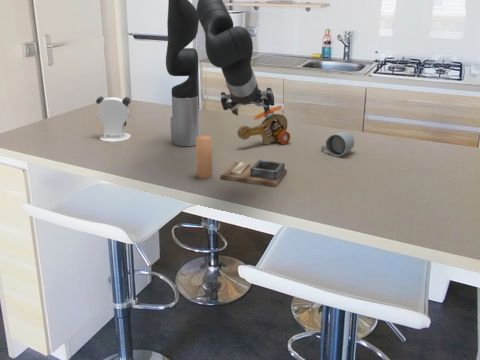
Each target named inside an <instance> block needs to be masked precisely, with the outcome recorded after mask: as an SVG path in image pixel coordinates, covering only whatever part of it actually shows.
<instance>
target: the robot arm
mask: <svg viewBox="0 0 480 360" xmlns="http://www.w3.org/2000/svg"><path fill="white" fill-rule="evenodd" d="M167 5H168V7H167V8H168V9H167V22H166V23H167V46H166V47H167V48H166V54H165V67H166V71H167V73H168V74H169V76H171V77H172V76H173V77H188V78H187V79H186V80H185V81H183V82H182V83H179V84H176V85H174V86H172V88H171V107H172V109H171V110H172V114H171V115H172V116H171V117H170V119H169V121H170V135H171V136H170V139H171V140H170V141H171V143H170V144H173V145H176V146H179V147H192V146H196V137H197V136H200V121H199V120H200V118H199V115H200V114H199V110H200V109H199V55H198V51H197V49H196V48H193V47H188V46H189V45H190V44H191V43H192V42H193V41H194V40H195V39H196V37H197V34H198V31H199V24H200V25H201V27H202V29H203V32H204V36H205V37H204V38H205V43H204V44H205V45H204V46H205V52H206V53H205V54H206V56H207V59H208V61H209V62H210V63H211V65H212V66H214V67H216V68H220V69H221V72H222V74H223V77H224V80H225V84H226V88H227V91H228V92H229V94H226V92H224V91H222V92H220V103H221V106H222V109H223V110H224V111H228V110H230V111H231V113H232V114H233V115H235V116H239V108H240V107H241V106H246V105H254V106H257V107H263V110H264V111H265V113H267V112H268V111H269V110H270V109H271V108H270V106H271V107H275V95H274V93H273V90H272V88H271V87H266V90H261V89H260V88H259V86H258V82H257V78H256V75H255V72H254V71H253V69H252V65H251V64H252V63H251V61H252V59H253V58H252V57H253V53H254V52H253V49H254V44H253V39H252V36H251V33H250V32H249V31H248V29H247V28H245V27H243V26H241V25H240V26H239V25H237V26H234V22H233V21H234V20H233V18H232V16H231V14H230V12H229V10H228V8H227V7H226V5H225V3H224V1H223V0H198V1H197V4H196V7H195V6H194V4H193V3H191V1H190V0H168V4H167ZM187 47H188V48H187ZM229 100H230V101H229ZM264 111H263V112H264Z"/></svg>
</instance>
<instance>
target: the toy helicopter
mask: <svg viewBox="0 0 480 360" xmlns="http://www.w3.org/2000/svg"><path fill="white" fill-rule="evenodd" d="M282 108H283V106H282V105H277V106H273V107H271V108H270V110H269V111H268V112H267V113H265V111H263V112H261V113H258V114H256V115H254V117H253V120H255V121H256V120H259V119H261V118H265V119H264V120H263V121H262V122H261V123H260V124H257V125H253V126H248V125H245V124H244V125H243V124H242V125H241V126H239V127H238V129H237V137H238V138H239V139H241V140H248V139H250V137H252V136H259V135H260V136H261V138H262V143H263V144H264V145H270V143H272V142H273V143H274V142H278V143H279V144H280V145H287V144H289V142H290V140H291V133H289V131H287V129H288V119H287V117H286V116H285V115H283V114H280V113H275V112H276V111H278V110H281V109H282Z"/></svg>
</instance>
